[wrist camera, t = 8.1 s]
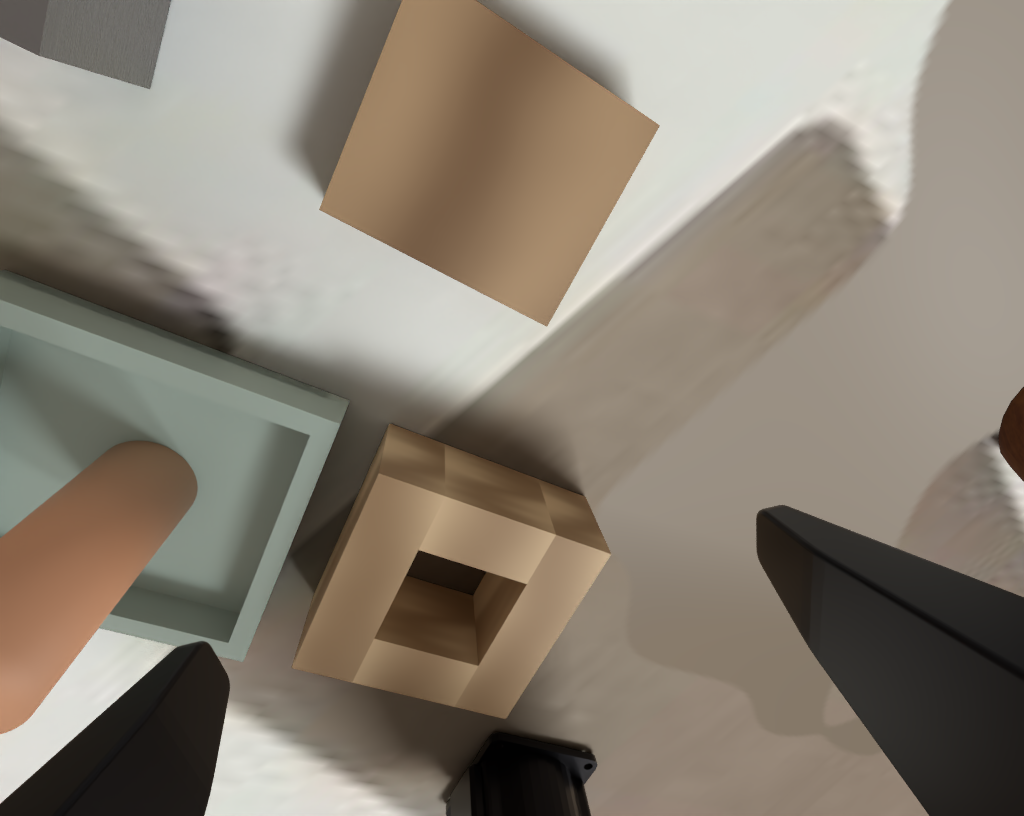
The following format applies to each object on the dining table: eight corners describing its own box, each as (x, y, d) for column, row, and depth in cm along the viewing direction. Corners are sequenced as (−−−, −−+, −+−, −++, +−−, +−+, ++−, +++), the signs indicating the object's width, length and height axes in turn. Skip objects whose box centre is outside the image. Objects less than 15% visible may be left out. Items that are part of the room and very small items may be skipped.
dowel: (144, 422, 20) (-70, 599, 12) (218, 489, 21) (73, 689, 13) (74, 475, 20) (-179, 680, 12) (151, 536, 22) (-30, 759, 13)
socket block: (585, 496, 24) (611, 554, 20) (496, 644, 27) (505, 719, 23) (389, 423, 22) (378, 473, 18) (314, 594, 24) (291, 668, 21)
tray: (350, 400, 21) (340, 424, 19) (259, 622, 25) (243, 661, 23) (5, 269, 18) (-50, 281, 16) (-43, 544, 21) (-93, 582, 19)
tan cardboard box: (633, 131, 19) (659, 125, 17) (535, 310, 21) (546, 326, 19) (420, -11, 17) (417, -40, 14) (333, 205, 19) (319, 209, 17)
